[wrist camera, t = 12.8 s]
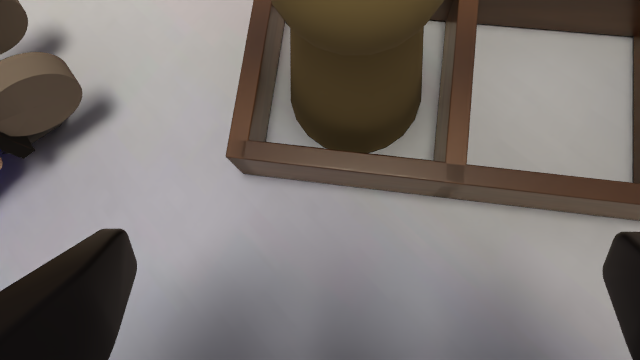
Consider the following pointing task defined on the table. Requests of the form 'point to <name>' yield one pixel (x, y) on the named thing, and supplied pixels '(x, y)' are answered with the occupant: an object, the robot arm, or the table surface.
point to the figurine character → (30, 88)
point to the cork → (356, 68)
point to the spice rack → (439, 116)
